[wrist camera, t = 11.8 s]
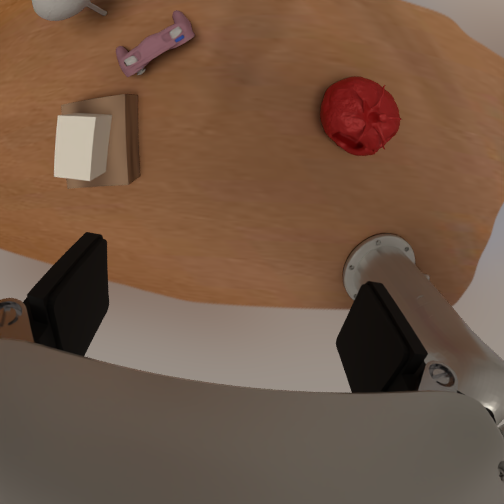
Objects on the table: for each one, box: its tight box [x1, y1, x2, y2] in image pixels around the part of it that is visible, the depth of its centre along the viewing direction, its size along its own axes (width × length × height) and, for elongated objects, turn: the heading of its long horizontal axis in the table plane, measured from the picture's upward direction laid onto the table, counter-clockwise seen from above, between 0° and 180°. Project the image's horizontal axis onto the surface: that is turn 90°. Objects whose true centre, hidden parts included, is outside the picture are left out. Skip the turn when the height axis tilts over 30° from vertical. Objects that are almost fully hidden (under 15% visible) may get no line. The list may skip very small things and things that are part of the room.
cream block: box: [54, 113, 112, 181], centre depth 29 cm, size 5×7×4 cm
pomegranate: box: [320, 77, 401, 156], centre depth 31 cm, size 10×10×9 cm
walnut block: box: [61, 94, 140, 189], centre depth 34 cm, size 9×11×5 cm
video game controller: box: [116, 10, 195, 77], centre depth 28 cm, size 10×5×7 cm, turn 118°
